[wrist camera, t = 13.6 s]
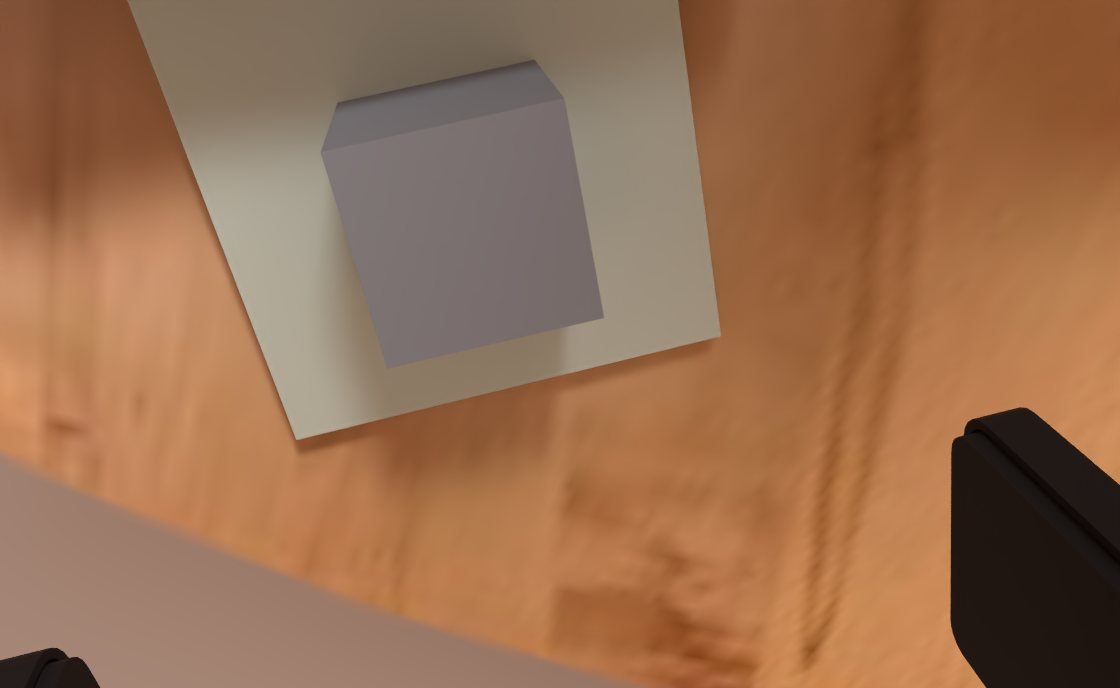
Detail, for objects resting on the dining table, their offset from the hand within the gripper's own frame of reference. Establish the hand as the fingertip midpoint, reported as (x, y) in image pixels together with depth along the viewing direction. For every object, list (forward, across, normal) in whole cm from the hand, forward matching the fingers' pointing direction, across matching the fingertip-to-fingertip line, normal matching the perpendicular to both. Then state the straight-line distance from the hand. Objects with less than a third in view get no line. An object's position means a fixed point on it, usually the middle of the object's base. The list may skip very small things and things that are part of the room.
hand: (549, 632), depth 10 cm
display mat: (+20, 0, 0) cm, 20 cm away
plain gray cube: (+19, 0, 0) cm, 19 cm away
